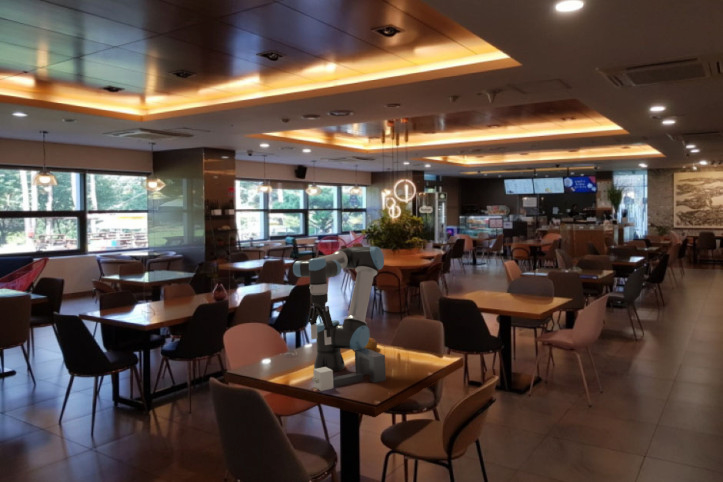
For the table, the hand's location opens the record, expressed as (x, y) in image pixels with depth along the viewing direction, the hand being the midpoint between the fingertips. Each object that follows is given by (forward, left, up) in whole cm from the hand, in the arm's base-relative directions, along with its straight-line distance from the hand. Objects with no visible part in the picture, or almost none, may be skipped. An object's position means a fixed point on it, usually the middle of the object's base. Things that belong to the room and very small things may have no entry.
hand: (321, 341), depth 238 cm
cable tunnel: (0, +24, -21) cm, 32 cm away
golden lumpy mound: (-46, +49, -21) cm, 71 cm away
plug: (0, +7, -21) cm, 22 cm away
